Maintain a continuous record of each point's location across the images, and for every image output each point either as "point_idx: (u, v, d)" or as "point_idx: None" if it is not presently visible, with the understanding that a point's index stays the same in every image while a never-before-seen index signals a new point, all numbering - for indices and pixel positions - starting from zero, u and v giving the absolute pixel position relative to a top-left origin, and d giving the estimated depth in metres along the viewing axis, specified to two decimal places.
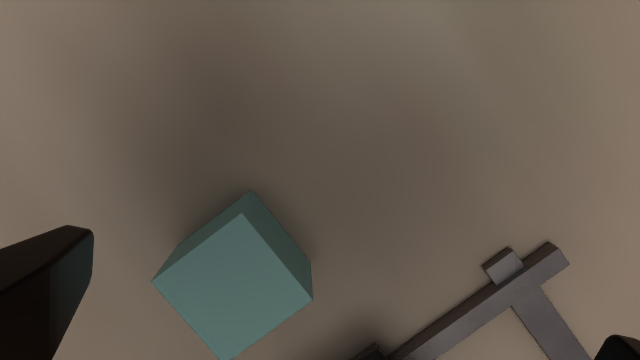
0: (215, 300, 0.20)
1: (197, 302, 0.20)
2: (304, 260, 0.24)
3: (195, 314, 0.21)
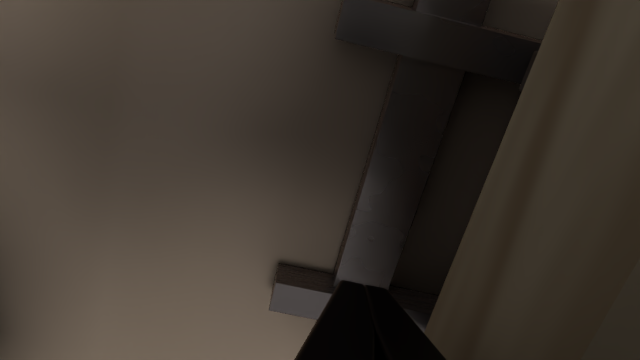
0: None
1: None
2: None
3: None
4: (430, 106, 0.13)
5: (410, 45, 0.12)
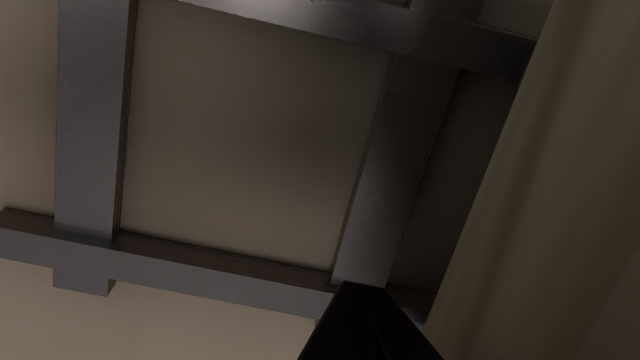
0: None
1: None
2: None
3: None
4: (103, 29, 0.12)
5: None
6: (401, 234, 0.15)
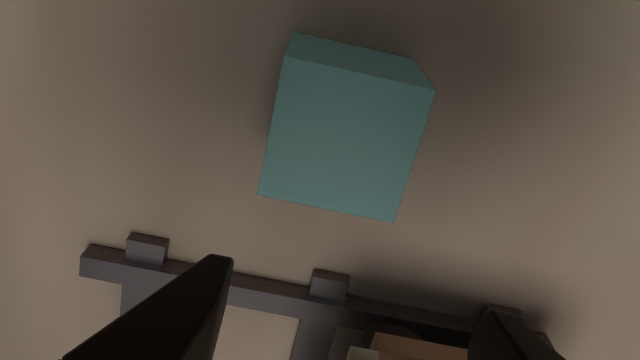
0: (318, 136, 0.16)
1: (301, 121, 0.16)
2: None
3: (286, 128, 0.16)
4: None
5: (121, 279, 0.22)
6: None
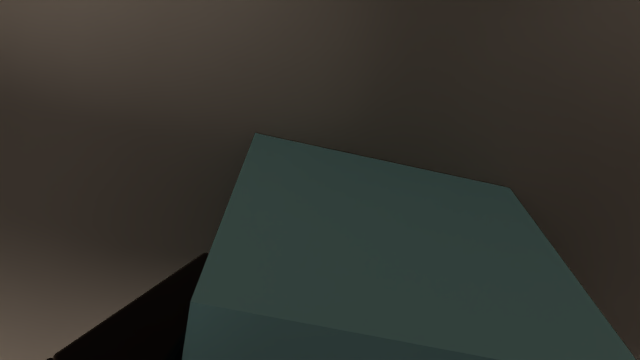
0: None
1: None
2: None
3: None
4: None
5: None
6: None
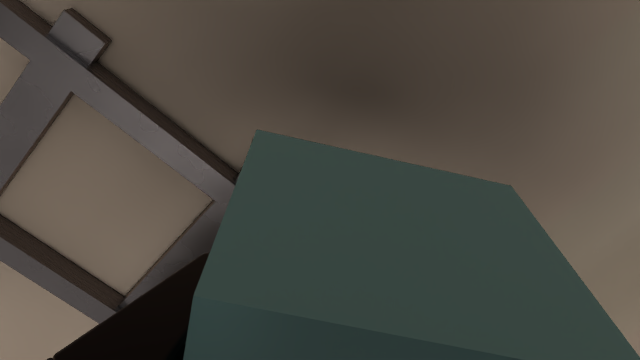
0: None
1: None
2: None
3: None
4: (44, 99, 0.18)
5: (31, 53, 0.17)
6: None
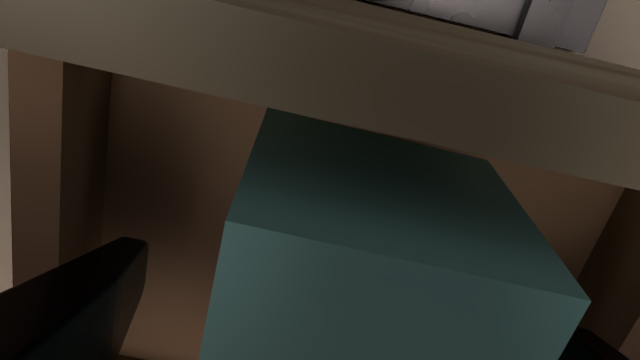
0: None
1: (270, 353, 0.07)
2: None
3: None
4: None
5: None
6: None
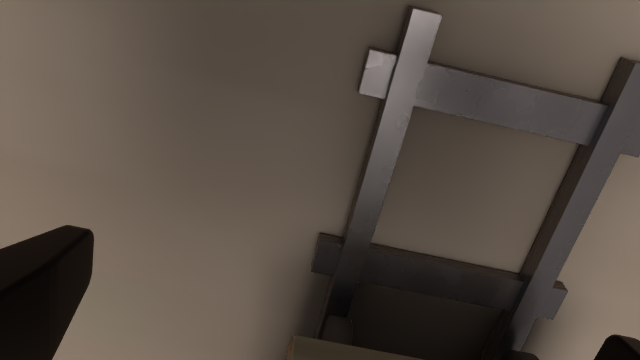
0: None
1: None
2: None
3: None
4: (567, 126, 0.19)
5: (619, 111, 0.19)
6: (404, 289, 0.23)
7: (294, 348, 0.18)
